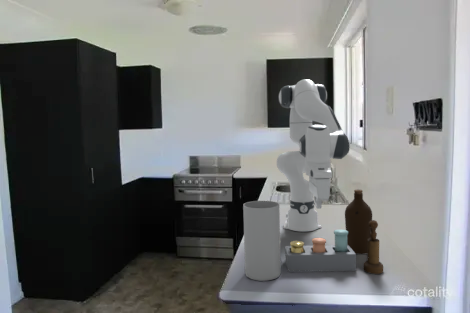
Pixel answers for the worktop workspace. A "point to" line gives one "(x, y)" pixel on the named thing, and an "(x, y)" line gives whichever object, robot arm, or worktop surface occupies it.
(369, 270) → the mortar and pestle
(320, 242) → the plug
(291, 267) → the grey plug holder block
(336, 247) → the plug
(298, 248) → the plug
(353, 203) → the olive oil
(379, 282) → the worktop surface
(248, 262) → the cylinder vase
